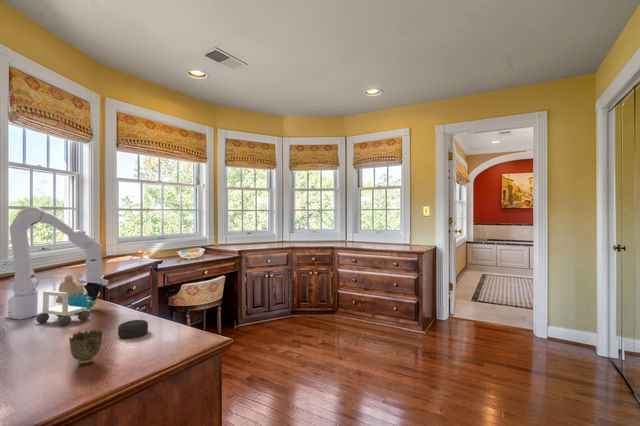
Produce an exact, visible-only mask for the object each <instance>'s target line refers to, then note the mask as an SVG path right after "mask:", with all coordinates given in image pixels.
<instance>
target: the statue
mask: <svg viewBox="0 0 640 426" xmlns="http://www.w3.org/2000/svg"><path fill="white" fill-rule="evenodd" d="M58 292H65V293H68V297H69V296H70V299H71V300H72V299H73V296H72V294H74V293H76V296H75V297H78V296H79V293H80V292H82V293H83V295H82V296H84V295H85V294H84V293H85V288H84V285H83V284H77V282H75V281H74V277H73V275H72V274H67V275H65V276H64V280H63V281H61V282H60V284H59V286H58ZM82 296H80V297H82ZM84 298H87V297H84ZM59 302H62V296H56V298H55V303H59ZM68 303H70V301H69V300H68Z"/></svg>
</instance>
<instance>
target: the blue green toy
mask: <svg viewBox="0 0 640 426" xmlns="http://www.w3.org/2000/svg"><path fill="white" fill-rule="evenodd" d="M83 294H84V293H82V292H80V293H79V296H78V297H75V296H76V293H74V294H72V296H73V299H72V300H71V299H70V296H69V297H68V300H69V301H70V302H68V306H75V307H84V308H85V309H86V311H89V310H92V309H93V307H94V305H96V304H97V300H95V301H90V300H92V297H89V295H88V293H87V292H86V293H85V294H84V296H82V295H83ZM80 296H82V297H80ZM84 297H86V298H84ZM73 315H78V313H74V314H73Z"/></svg>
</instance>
